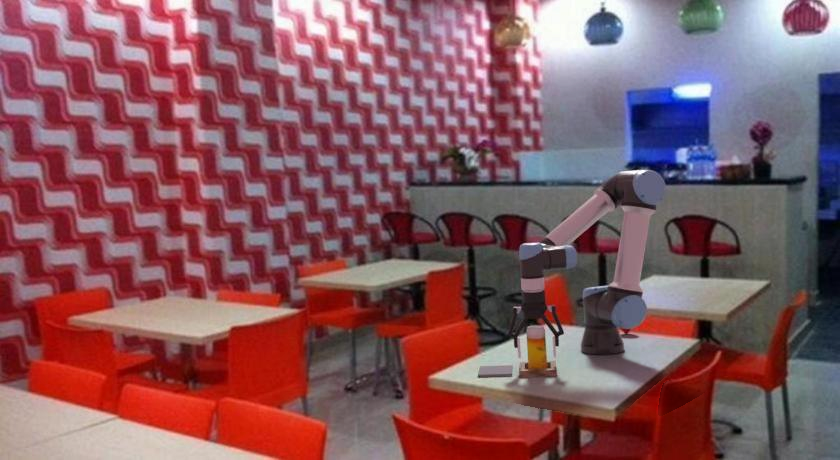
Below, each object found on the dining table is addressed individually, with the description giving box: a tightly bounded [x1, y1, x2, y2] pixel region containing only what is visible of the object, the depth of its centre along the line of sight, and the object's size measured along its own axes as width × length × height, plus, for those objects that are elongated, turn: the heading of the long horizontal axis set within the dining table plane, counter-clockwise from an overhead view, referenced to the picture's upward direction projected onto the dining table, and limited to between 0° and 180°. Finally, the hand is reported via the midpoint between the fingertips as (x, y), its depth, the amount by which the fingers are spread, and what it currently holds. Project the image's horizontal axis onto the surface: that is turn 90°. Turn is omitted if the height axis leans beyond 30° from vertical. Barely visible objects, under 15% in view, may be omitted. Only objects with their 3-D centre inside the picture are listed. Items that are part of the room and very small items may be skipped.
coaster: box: [477, 364, 513, 378], centre depth 257 cm, size 11×11×1 cm
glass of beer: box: [525, 324, 548, 369], centre depth 254 cm, size 6×6×15 cm
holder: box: [518, 360, 558, 378], centre depth 254 cm, size 12×12×2 cm
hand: (537, 356), depth 254 cm, fingers open, 11 cm apart
